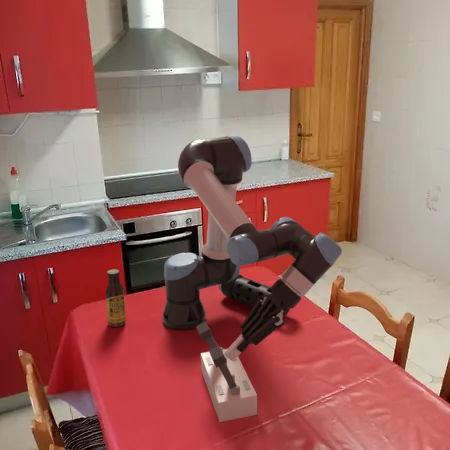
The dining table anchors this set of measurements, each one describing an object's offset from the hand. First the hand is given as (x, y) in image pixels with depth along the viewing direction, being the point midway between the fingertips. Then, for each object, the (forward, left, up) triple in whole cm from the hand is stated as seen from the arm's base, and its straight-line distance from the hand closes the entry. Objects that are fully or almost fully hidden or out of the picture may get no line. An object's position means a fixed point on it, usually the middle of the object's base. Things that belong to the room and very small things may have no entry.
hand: (228, 357), depth 119 cm
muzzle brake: (-55, -6, -16) cm, 57 cm away
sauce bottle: (-33, -50, -16) cm, 62 cm away
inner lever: (-12, -6, -9) cm, 17 cm away
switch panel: (-7, -3, -16) cm, 17 cm away
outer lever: (-1, +1, -9) cm, 10 cm away
